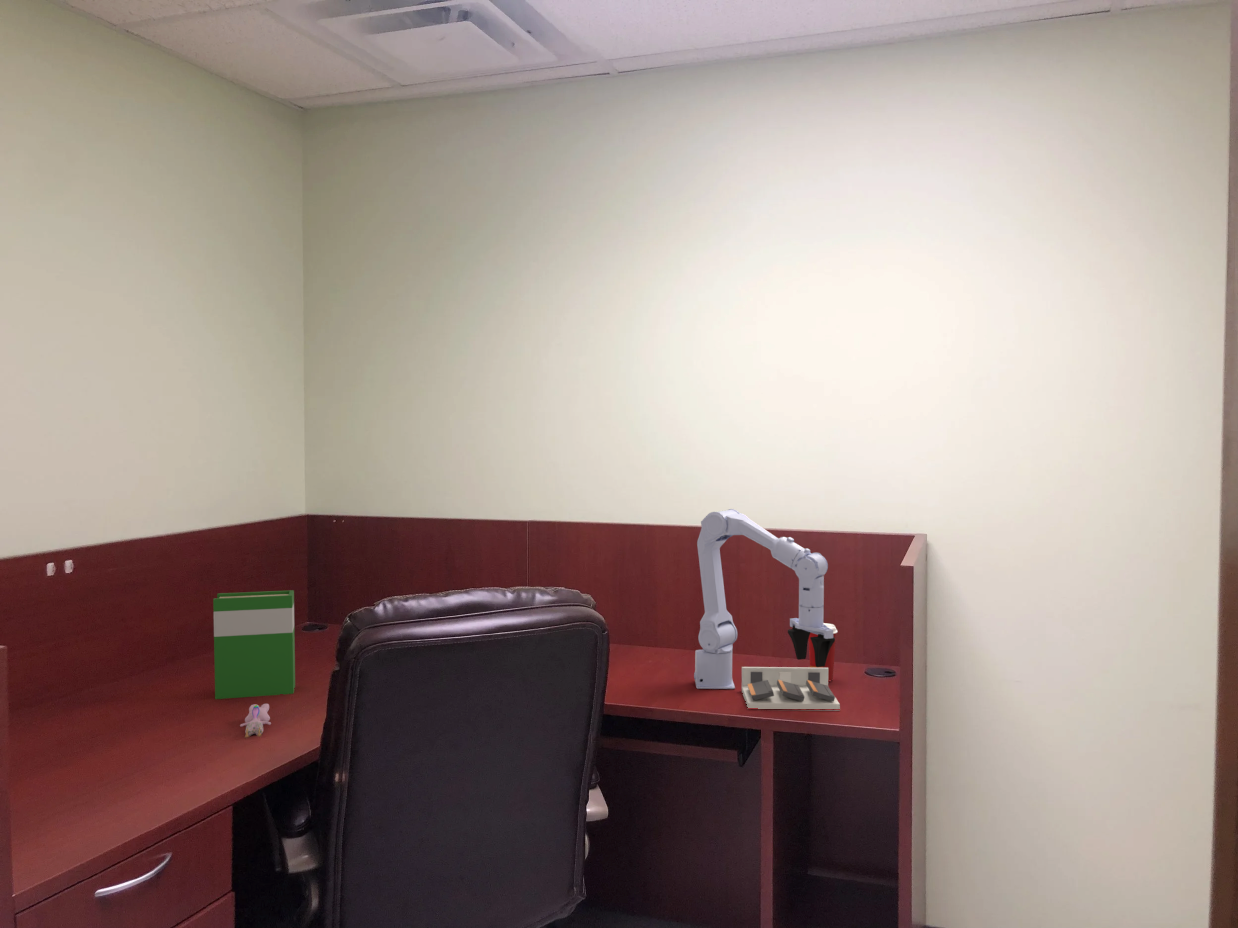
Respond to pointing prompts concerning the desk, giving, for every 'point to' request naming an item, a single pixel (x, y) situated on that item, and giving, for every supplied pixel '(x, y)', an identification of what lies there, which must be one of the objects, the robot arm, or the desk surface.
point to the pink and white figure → (256, 719)
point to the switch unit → (791, 676)
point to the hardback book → (254, 644)
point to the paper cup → (831, 653)
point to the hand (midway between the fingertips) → (810, 662)
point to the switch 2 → (790, 690)
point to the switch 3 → (820, 690)
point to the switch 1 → (760, 690)
